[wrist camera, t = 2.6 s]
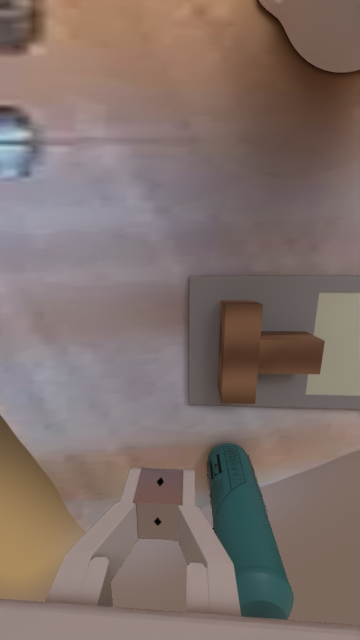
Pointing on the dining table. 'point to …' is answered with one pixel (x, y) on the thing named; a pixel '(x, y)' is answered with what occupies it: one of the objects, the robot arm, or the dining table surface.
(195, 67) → the dining table surface
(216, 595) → the robot arm
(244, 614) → the beverage bottle
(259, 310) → the t block
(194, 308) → the board
